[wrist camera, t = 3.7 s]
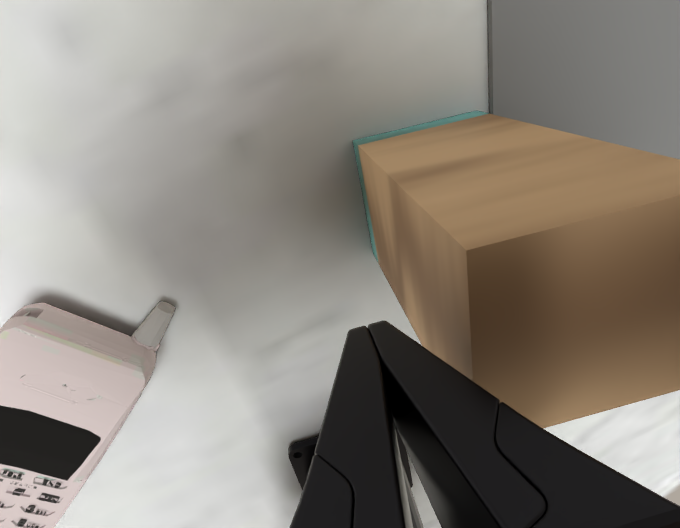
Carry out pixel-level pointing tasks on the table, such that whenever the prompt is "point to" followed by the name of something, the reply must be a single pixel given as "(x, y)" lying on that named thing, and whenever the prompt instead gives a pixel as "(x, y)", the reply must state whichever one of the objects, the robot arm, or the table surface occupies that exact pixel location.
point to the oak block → (531, 259)
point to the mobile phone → (64, 403)
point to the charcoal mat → (589, 68)
